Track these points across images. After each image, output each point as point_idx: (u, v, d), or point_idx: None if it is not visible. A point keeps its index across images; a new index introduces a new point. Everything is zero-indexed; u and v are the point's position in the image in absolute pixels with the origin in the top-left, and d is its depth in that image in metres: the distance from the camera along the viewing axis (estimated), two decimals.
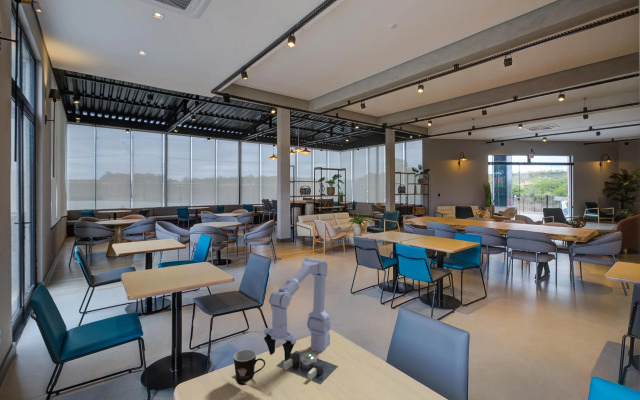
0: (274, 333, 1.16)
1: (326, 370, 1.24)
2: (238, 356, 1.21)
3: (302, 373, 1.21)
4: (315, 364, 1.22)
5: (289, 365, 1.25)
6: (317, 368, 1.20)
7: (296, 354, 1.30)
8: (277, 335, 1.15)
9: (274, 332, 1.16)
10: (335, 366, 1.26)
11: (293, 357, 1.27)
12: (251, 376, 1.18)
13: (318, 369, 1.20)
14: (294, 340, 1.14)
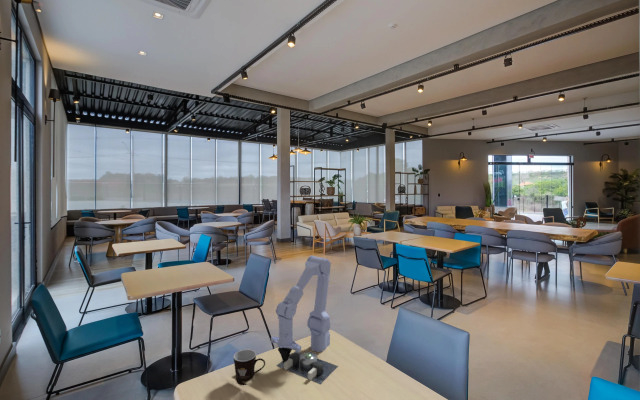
0: (280, 342, 1.23)
1: (326, 370, 1.24)
2: (238, 356, 1.21)
3: (302, 373, 1.21)
4: (315, 364, 1.22)
5: (289, 365, 1.25)
6: (317, 368, 1.20)
7: (296, 354, 1.30)
8: (283, 344, 1.23)
9: (280, 341, 1.23)
10: (335, 366, 1.26)
11: (293, 357, 1.27)
12: (251, 376, 1.18)
13: (318, 369, 1.20)
14: (299, 348, 1.22)
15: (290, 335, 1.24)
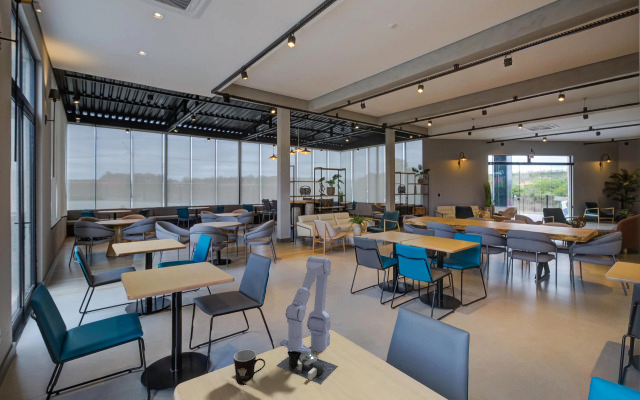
0: (290, 345, 1.21)
1: (326, 370, 1.24)
2: (238, 356, 1.21)
3: (302, 373, 1.21)
4: (315, 364, 1.22)
5: None
6: (317, 368, 1.20)
7: None
8: (293, 347, 1.20)
9: (290, 344, 1.21)
10: (335, 366, 1.26)
11: None
12: (251, 376, 1.18)
13: (318, 369, 1.20)
14: (309, 352, 1.19)
15: (300, 338, 1.21)
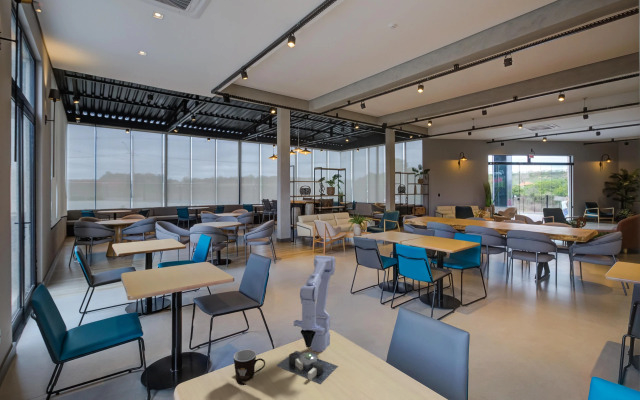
0: (304, 324, 1.25)
1: (326, 370, 1.24)
2: (238, 356, 1.21)
3: (302, 373, 1.21)
4: (315, 364, 1.22)
5: None
6: (317, 368, 1.20)
7: (293, 354, 1.30)
8: (307, 326, 1.24)
9: (304, 323, 1.24)
10: (335, 366, 1.26)
11: (296, 356, 1.28)
12: (251, 376, 1.18)
13: (318, 369, 1.20)
14: (323, 331, 1.23)
15: (313, 318, 1.25)
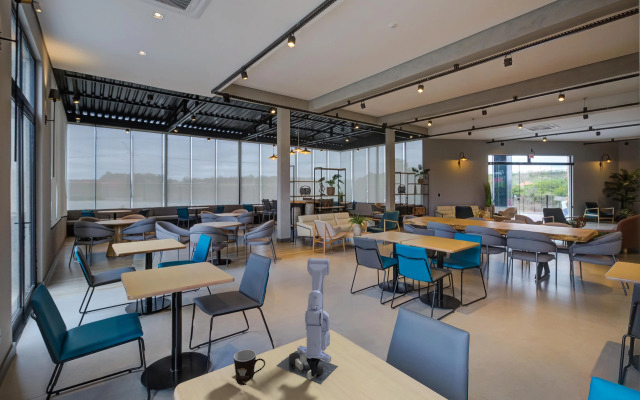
0: (309, 352, 1.16)
1: (326, 370, 1.24)
2: (238, 356, 1.21)
3: (302, 373, 1.21)
4: None
5: None
6: (317, 368, 1.20)
7: (293, 354, 1.30)
8: (312, 354, 1.15)
9: (309, 351, 1.16)
10: (335, 366, 1.26)
11: (296, 356, 1.28)
12: (251, 376, 1.18)
13: (318, 369, 1.20)
14: (329, 359, 1.14)
15: (319, 344, 1.16)
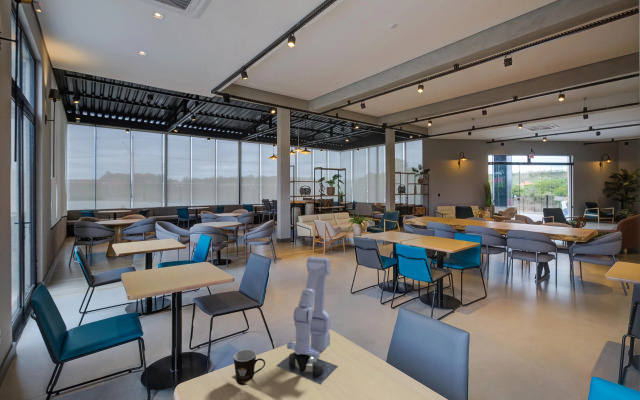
0: (298, 348, 1.19)
1: (326, 370, 1.24)
2: (238, 356, 1.21)
3: (302, 373, 1.21)
4: (317, 363, 1.23)
5: None
6: (312, 366, 1.22)
7: (293, 354, 1.30)
8: (301, 350, 1.18)
9: (298, 347, 1.19)
10: (335, 366, 1.26)
11: None
12: (251, 376, 1.18)
13: (313, 367, 1.21)
14: (317, 355, 1.17)
15: (308, 341, 1.19)
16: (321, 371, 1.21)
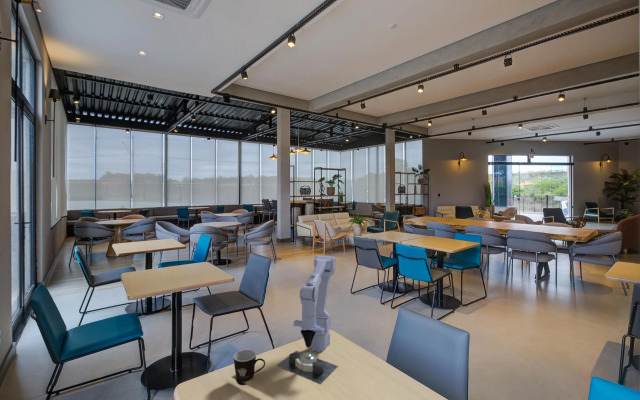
0: (304, 324, 1.25)
1: (326, 370, 1.24)
2: (238, 356, 1.21)
3: (302, 373, 1.21)
4: (317, 363, 1.23)
5: None
6: (312, 366, 1.22)
7: (293, 354, 1.30)
8: (307, 326, 1.24)
9: (304, 323, 1.24)
10: (335, 366, 1.26)
11: (296, 356, 1.28)
12: (251, 376, 1.18)
13: (313, 367, 1.21)
14: (323, 331, 1.23)
15: (313, 318, 1.25)
16: (321, 371, 1.21)
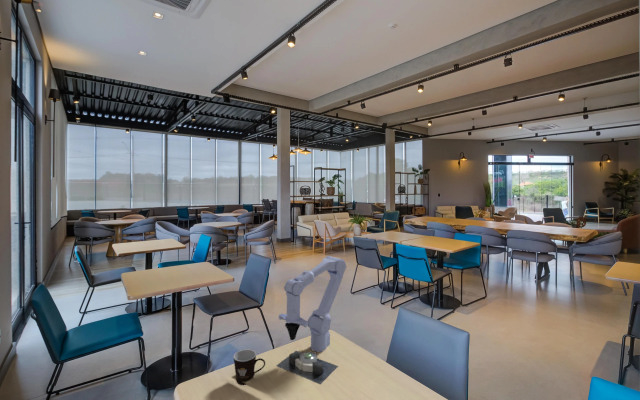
0: (288, 317, 1.29)
1: (326, 370, 1.24)
2: (238, 356, 1.21)
3: (302, 373, 1.21)
4: (317, 363, 1.23)
5: None
6: (312, 366, 1.22)
7: (293, 354, 1.30)
8: (291, 319, 1.28)
9: (288, 316, 1.29)
10: (335, 366, 1.26)
11: (296, 356, 1.28)
12: (251, 376, 1.18)
13: (313, 367, 1.21)
14: (306, 324, 1.27)
15: (298, 311, 1.29)
16: (321, 371, 1.21)
